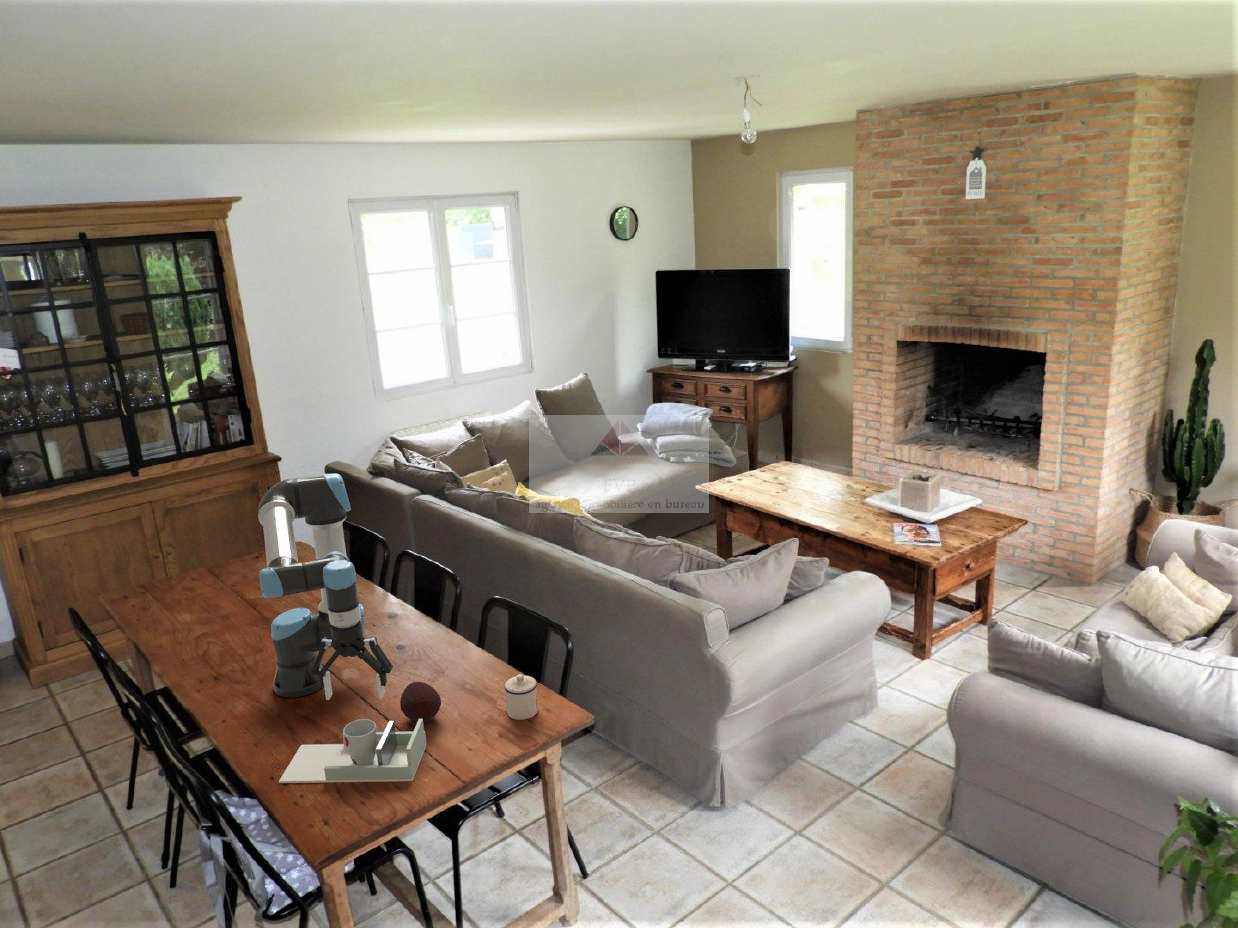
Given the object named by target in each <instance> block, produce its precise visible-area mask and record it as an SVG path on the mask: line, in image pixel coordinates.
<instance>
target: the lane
mask: <svg viewBox="0 0 1238 928" xmlns="http://www.w3.org/2000/svg"><path fill="white" fill-rule="evenodd" d="M395 733H396V741H397V747H396V749H395V751H394V753H393V756H392V758H391V760H390V762H389V765H378V760H377V753H375V757H374V761H373V763H372V764H370V765H358V766H355V765H354V763H353V761H352V760H351V758H350V755H349V753H348V750H347V747H346V743H345V738H344V733H343V732H342V740H343V743H331V744H330V743H327V744H324V743H321V744H319V743H318V744H317V743H316V744H301V745H300V746H299V748H298V749H297V751H296V753H295V754H294V755H293V757H292V759H291V761H289V764H288V766H287V767H286V769H285V771H284V772H283V773H282V775H281V777H280V779H279V780H278V783H279V784H298V783H300V784H308V783H315V784H316V783H366V782H367V783H368V782H371V783H372V782H373V783H375V782H376V783H377V782H381V783H383V782H413V780H414V778H415V776H416V774H417V771H418V768H419V765H420V763H421V760H422V758H423V755H424V752H425V750H426V747H427V744H428V743H427V735H426V731H425V728H424V723H423V719H419V720H418V722H416V725H415V727H414V729H413V731H395ZM383 734H384V731H376V738H377V740H376V748H377V746H378V744H379V742H380V740H381V738H382V736H383Z"/></svg>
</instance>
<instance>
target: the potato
mask: <svg viewBox="0 0 1238 928" xmlns="http://www.w3.org/2000/svg"><path fill="white" fill-rule="evenodd" d="M400 696H401V697H400V701H399V702H400V703H399V705H400V710H401V712H402V713H403V715H404V716H405V717H406V718H407V719H409V720H411V721H413V722H415V723H417V722H418V720H419V719H423V724H425V723H428V722H430V721H431V720H433V719H434V718H435V717H436V715H437V714H438V713H439V711H440V710H441V709H440V708H441V705H442V700H441V696H440V693H438V692H437V690H436V689H435V688H434V687H433V686H432V685H430V684H428V683H426V682H424V681H413V682H410V683H409V684H408V685H407V686H405V688H404V690H403V692H402V694H401V695H400Z"/></svg>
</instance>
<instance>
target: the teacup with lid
mask: <svg viewBox="0 0 1238 928" xmlns="http://www.w3.org/2000/svg"><path fill="white" fill-rule="evenodd" d="M537 685H538V683H537V680H536V679H535V678H534V677H532V676H530V675H523V674H522V673H519V674H517V675H516V676H512V677H511V678H508V679H507V681H505V683H504V687H503V688H504V690H505V700H506V701H505V703H506V712H507V716H509V718H511V719H513V720H518V721H520V720H521V721H522V720H523V721H524V720H528V719H531V718H533V717H534V716H536V714H537V713H538V710H539V709H538V706H539V705H538V696H537V695H538V694H537V693H538V692H537V691H538V690H537Z"/></svg>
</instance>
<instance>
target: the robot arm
mask: <svg viewBox="0 0 1238 928" xmlns="http://www.w3.org/2000/svg"><path fill="white" fill-rule="evenodd" d="M349 500H350V499H349V496H348V493H347V490H346V486H345V481H344V479H343V477H342V475H341V474H339V473H321V474H314V475H309V476H303V477H302V476H301V477H297V478H288V479H283V480H281V481H279V482H277V483H275V484H273V486H272V487H270V488H269V489H268V490H267V491H266V492H265V493H264V495H263V497H262V498H261V500H260V502H259V504H258V507H257V518H258V522H259V523H260V525H261V526H262V527H263V535H264V536H263V537H264V548H265V557H266V568H265V567H264V568H261V569H260V570H259V572H258V573H259V575H258V576H259V583H260V590H261V594H262V596H263V598H265V599H269V598H270V599H272V598H281V597H285V596H290V595H295V594H301V593H304V592H312V591H316V590H320V595H321V601H320V602H319V604H318V605H317V611H315V612H311V610H310V609H309V608H308V607H303V608H302V607H296V608H292V609H289V610H286V611H285V612H282V613H280V614H279V615H278V616H276V617H275V618H274V619H273V621H272V623H271V625H270V630H271V635H270V636H271V639H272V644H273V649H274V657H275V662H276V668H275V669H276V670H275V675H274V678H273V690H274V692H275V694H276V695H278V696H280V697H283V698H289V699H290V698H300V697H306V696H309V695H312V694H313V693H316V692H317V691H319V690H321V689H322V688H324V694H325V700H326V701H329V700H330V699H331V697H332V696H333V687H332V680H331V674H330V673H331V672H330V671H328V670H329V668H331V666H332V665H333V664H334V662H335V661H336V660H337V658H338V657H339V656H341V657H342V658H347V657H350V658H355V657H357V658H358V659H360V660H363V662H365V663H366V664H367V665H368V666H369V667H370V668H371V669H372V670H373V671H374V672H375V673H377V674H376V677H375V678H376V679H375V680H376V686H377V693H378V700H383V698H384V696H385V694H386V691H385V686H386V685H387V683H388V678H387V674H390V673H391V672H392V670H393V669H394V668H393V667H394V665H393V664H392V662H391V661H390V659H389V658H388V657H387V655H386V654H385V652H384V651H383V649H382V648H381V646H380V645H379V644H378V643H379V642H378V640H377V637H376V636H372V637H371V638H366V639H365V632H366V631H365V629H366V621H365V609H364V605H363V604H362V603H360V602H359V601H360V600H359V595H358V593H359V592H358V585H357V573H356V570H355V566H354V564H353V562H351V561H350V558H349V557H348V555H347V550H346V542H345V534H344V527H343V522H344V521H345V520H346V519H347V517H348V516H347V513H348V512H350V511H351V510H352V508H351V503H350V501H349ZM296 519H299V520H300V519H304V522H305V525H307V526H309V527H310V528H311V530H312V539H313V544H314V551H315V559H313V560H308V561H301V562H299V560H298V559H299V557H298V552H297V546H296V537H295V531H294V526H293V525H294V524H293V523H294V520H296ZM366 646H367V647H368V648H367V647H366ZM331 649H334V652H333V654H332V655H331V656H330V658H329V659H328V660H327V661H326V663H325V664H324V665H322V661H323V659H324V656H325V655H326V652H327V650H331ZM368 649H370V650H371V652H372V654H373V655H372V654H371V652H369V650H368ZM317 653H318V654H317Z"/></svg>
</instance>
